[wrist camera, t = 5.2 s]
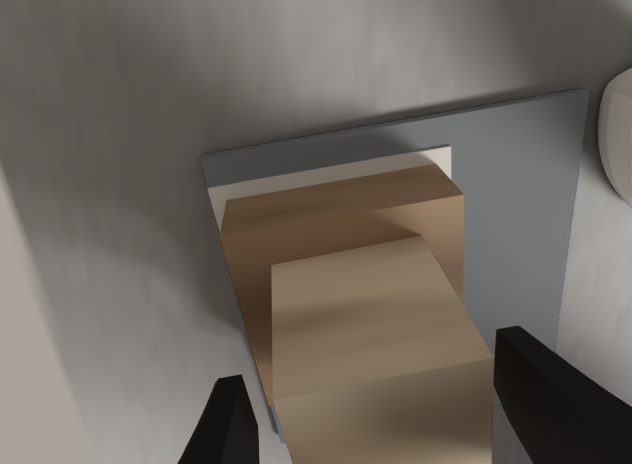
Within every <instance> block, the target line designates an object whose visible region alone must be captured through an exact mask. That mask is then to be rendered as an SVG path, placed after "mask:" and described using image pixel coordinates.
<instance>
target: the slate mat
mask: <svg viewBox="0 0 632 464" xmlns="http://www.w3.org/2000/svg"><path fill="white" fill-rule="evenodd" d="M589 95H590V91H589V90H586V89H583V88H581V89H575V90H569V91H563V92H558V93H552V94H546V95H541V96H535V97H529V98H523V99H518V100H512V101H506V102H500V103H495V104H489V105H483V106H477V107H472V108H466V109H460V110H455V111H449V112H443V113H437V114H432V115H426V116H420V117H414V118H409V119H403V120H397V121H391V122H386V123H380V124H374V125H369V126H363V127H357V128H351V129H346V130H340V131H334V132H328V133H323V134H317V135H311V136H305V137H300V138H294V139H288V140H283V141H277V142H271V143H265V144H260V145H254V146H248V147H242V148H237V149H231V150H225V151H219V152H214V153H208V154H202V155H201V156H200V163H201V166H202V170H203V173H204V177H205V180H206V184H207V187H208V189H207V190H208V193H209V197H210V200H211V203H212V207H213V210H214V214H215V217H216V221H217V224H218V228H219V231H220V232H221V226H222V221H223V216H224V210H225V205H226V200H231V199H236V198H242V197H248V196H253V195H259V194H265V193H271V192H276V191H282V190H288V189H293V188H299V187H305V186H311V185H316V184H322V183H328V182H333V181H339V180H345V179H351V178H356V177H362V176H368V175H373V174H379V173H385V172H391V171H396V170H402V169H408V168H413V167H419V166H425V165H431V164H437V165H438V166H439V167H440V168H441V169H442V170H443V172H444V173H445V174H446V175H447V176H448V177H449V178H450V179H451V181H452V182H453V183H454V184H455V185H456V186H457V187H458V188H459V189H460V191H461V192H462V193H463V194H464V280H463V306H464V308H465V309H466V311H467V313H468V314H469V316H470V318H471V320H472V321H473V323H474V325H475V326H476V328H477V330H478V331H479V333H480V335H481V336H482V338H483V340H484V342H485V343H486V345H487V347H488V348H489V350H490V352H491V353H492V355H493V357H494V360H495V341H496V329H501V328H507V327H512V326H518V325H519V326H521V327H522V328H523V329H525V330H526V331H527V332H529V333H530V334H531V335H532V336H534V337H535V338H536V339H538V340H539V341H540V342H542V343H543V344H544V345H545V346H547V347H548V348H549V349H551V350H552V351H553V352H554V349H555V342H556V335H557V327H558V320H559V313H560V306H561V298H562V291H563V284H564V276H565V269H566V262H567V255H568V247H569V240H570V233H571V226H572V218H573V211H574V204H575V196H576V189H577V182H578V175H579V167H580V160H581V153H582V145H583V138H584V131H585V124H586V116H587V109H588V102H589ZM493 379H494V376H493ZM496 405H501V402H500V399H499V397H498V395H497V392H496V390H495V387H494V385H493V406H496ZM271 409H272V412H273V416H274V419H275V423H276V426H277V430H278V433H279V437H280V440H281V444H282V443H286V440H285V437H284V434H283V431H282V428H281V425H280V421H279V418H278V415H277V412H276V409H275V406H274V405H273V406H271Z"/></svg>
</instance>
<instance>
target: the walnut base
mask: <svg viewBox="0 0 632 464" xmlns="http://www.w3.org/2000/svg"><path fill="white" fill-rule="evenodd" d="M417 236H422V237H423V238H424V240H425V242H426V243H427V245H428V247H429V249H430V250H431V252H432V254H433V255H434V257H435V259H436V260H437V262H438V264H439V265H440V267H441V269H442V270H443V272H444V274H445V276H446V277H447V279H448V281H449V282H450V284H451V286H452V287H453V289H454V291H455V292H456V294H457V296H458V298H459V299H460V301H461V303H462V304H463V280H464V194H463V193H462V192H461V191H460V189H459V188H458V187H457V186H456V185H455V184H454V183H453V182H452V181H451V179H450V178H449V177H448V176H447V175H446V174H445V173H444V172H443V170H442V169H441V168H440V167H439V166H438V165H437V164H431V165H425V166H419V167H413V168H408V169H402V170H396V171H391V172H385V173H379V174H373V175H368V176H362V177H356V178H351V179H345V180H339V181H333V182H328V183H322V184H316V185H311V186H305V187H299V188H293V189H288V190H282V191H276V192H271V193H265V194H259V195H253V196H248V197H242V198H236V199H231V200H226V205H225V210H224V216H223V221H222V226H221V232H220V237H219V238H220V241H221V245H222V248H223V252H224V255H225V259H226V262H227V265H228V269H229V272H230V276H231V279H232V283H233V286H234V289H235V293H236V296H237V300H238V303H239V307H240V310H241V313H242V317H243V320H244V324H245V327H246V331H247V334H248V337H249V341H250V344H251V348H252V351H253V354H254V358H255V361H256V365H257V368H258V372H259V375H260V378H261V382H262V385H263V389H264V392H265V396H266V399H267V402H268V406H273V405H274V403H273V372H272V275H271V265H274V264H279V263H284V262H290V261H295V260H300V259H305V258H310V257H315V256H320V255H325V254H330V253H336V252H341V251H346V250H351V249H356V248H361V247H366V246H371V245H376V244H382V243H387V242H392V241H397V240H402V239H407V238H412V237H417Z"/></svg>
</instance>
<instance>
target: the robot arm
mask: <svg viewBox="0 0 632 464" xmlns="http://www.w3.org/2000/svg"><path fill="white" fill-rule="evenodd" d="M493 385H494V387H495V390H496V392H497V395H498V397H499V399H500V402H501V404H502V406H503V409H504V411H505V413H506V415H507V418H508V420H509V422H510V424H511V425H512V427H513V429H514V431H515V433H516V434H517V436H518V438H519V440H520V441H521V443H522V445H523V447H524V448H525V450H526V452H527V453H528V455H529V457H530V459H531V460H532V462H533V464H632V407H631V406H629V405H628V404H626V403H625V402H623V401H622V400H620V399H619V398H617V397H616V396H614V395H613V394H611V393H610V392H608V391H607V390H605V389H604V388H602V387H601V386H600V385H598V384H597V383H595V382H594V381H593V380H591V379H590V378H588V377H587V376H586V375H584V374H583V373H581V372H580V371H579V370H577V369H576V368H574V367H573V366H572V365H570V364H569V363H568V362H566V361H565V360H564V359H562V358H561V357H560V356H558V355H557V354H556V353H555V352H553V351H552V350H551V349H549V348H548V347H547V346H545V345H544V344H543V343H542V342H540V341H539V340H538V339H536V338H535V337H534V336H532V335H531V334H530V333H529V332H527V331H526V330H525V329H523V328H522V327H521V326H519V325H518V326H512V327H507V328H501V329H496V341H495V360H494V379H493ZM177 464H259V438H258V424H257V421H256V418H255V415H254V412H253V409H252V406H251V402H250V399H249V396H248V393H247V390H246V387H245V384H244V380H243V377H242V374H241V375H236V376H230V377H224V378H219V379H218V380H217V381H216V383H215V385H214V388H213V390H212V392H211V395H210V397H209V400H208V402H207V404H206V406H205V409H204V411H203V413H202V415H201V418H200V420H199V422H198V424H197V426H196V428H195V430H194V432H193V434H192V436H191V438H190V440H189V442H188V444H187V446H186V448H185V450H184V452H183V454H182V456H181V458H180V460H179V462H178V463H177Z"/></svg>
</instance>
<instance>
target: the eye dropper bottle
mask: <svg viewBox="0 0 632 464" xmlns="http://www.w3.org/2000/svg"><path fill="white" fill-rule="evenodd" d="M598 145H599V152H600V157H601V161H602V164H603V167H604V170H605V172H606V175H607V177H608V179H609V181H610V182H611V184H612V186H613V187H614V188H615V190H616V191H617V193H618V194H619V195H620V196H621V197H622V199H623V200H624V201H625V202H626V203H627V204H628V205H630V206H631V207H632V68H630V69H628V70H626V71H624V72H623V73H621V74H619V75H618V76H616V77H615V78H614V79H613V80H612V81H610V82H609V83H608V85H607V86H606V88H605V90H604V92H603V96H602V100H601V104H600V110H599V119H598Z"/></svg>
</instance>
